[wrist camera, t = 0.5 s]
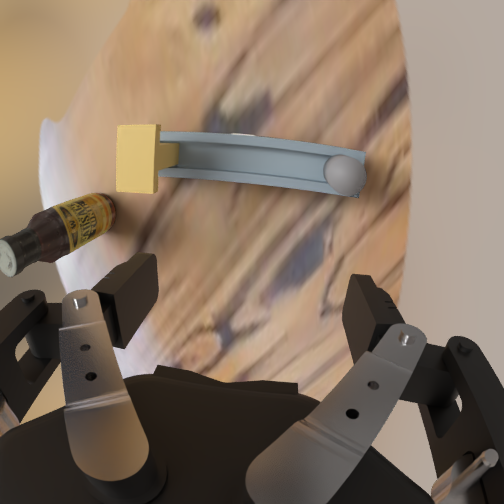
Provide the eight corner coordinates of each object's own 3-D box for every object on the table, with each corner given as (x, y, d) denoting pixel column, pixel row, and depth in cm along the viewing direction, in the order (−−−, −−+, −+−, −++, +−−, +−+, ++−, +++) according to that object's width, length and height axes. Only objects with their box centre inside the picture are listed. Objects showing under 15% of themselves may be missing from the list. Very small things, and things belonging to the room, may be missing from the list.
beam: (147, 168, 38) (108, 181, 28) (149, 130, 36) (109, 131, 26) (346, 188, 37) (368, 207, 27) (351, 148, 35) (377, 153, 25)
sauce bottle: (124, 224, 41) (35, 287, 23) (93, 235, 43) (7, 297, 24) (108, 182, 39) (8, 224, 21) (78, 196, 40) (-18, 241, 22)
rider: (145, 179, 34) (116, 191, 27) (148, 125, 31) (117, 125, 24) (177, 181, 33) (153, 193, 27) (180, 125, 31) (155, 124, 24)
